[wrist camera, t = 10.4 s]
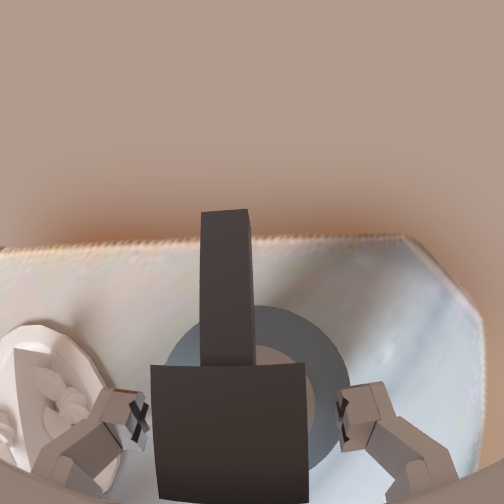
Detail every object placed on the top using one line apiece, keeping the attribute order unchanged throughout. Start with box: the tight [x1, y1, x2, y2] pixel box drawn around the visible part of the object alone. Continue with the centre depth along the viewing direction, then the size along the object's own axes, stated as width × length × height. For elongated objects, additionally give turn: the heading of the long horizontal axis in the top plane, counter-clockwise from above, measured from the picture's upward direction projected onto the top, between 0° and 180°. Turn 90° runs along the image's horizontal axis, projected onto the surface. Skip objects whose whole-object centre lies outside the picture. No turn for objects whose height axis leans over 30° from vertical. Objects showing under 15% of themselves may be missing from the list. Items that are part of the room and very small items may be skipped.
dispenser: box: [165, 306, 350, 470], centre depth 21 cm, size 12×12×18 cm
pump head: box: [150, 209, 309, 504], centre depth 10 cm, size 8×4×6 cm, turn 2°
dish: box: [0, 325, 121, 494], centre depth 23 cm, size 25×25×11 cm
